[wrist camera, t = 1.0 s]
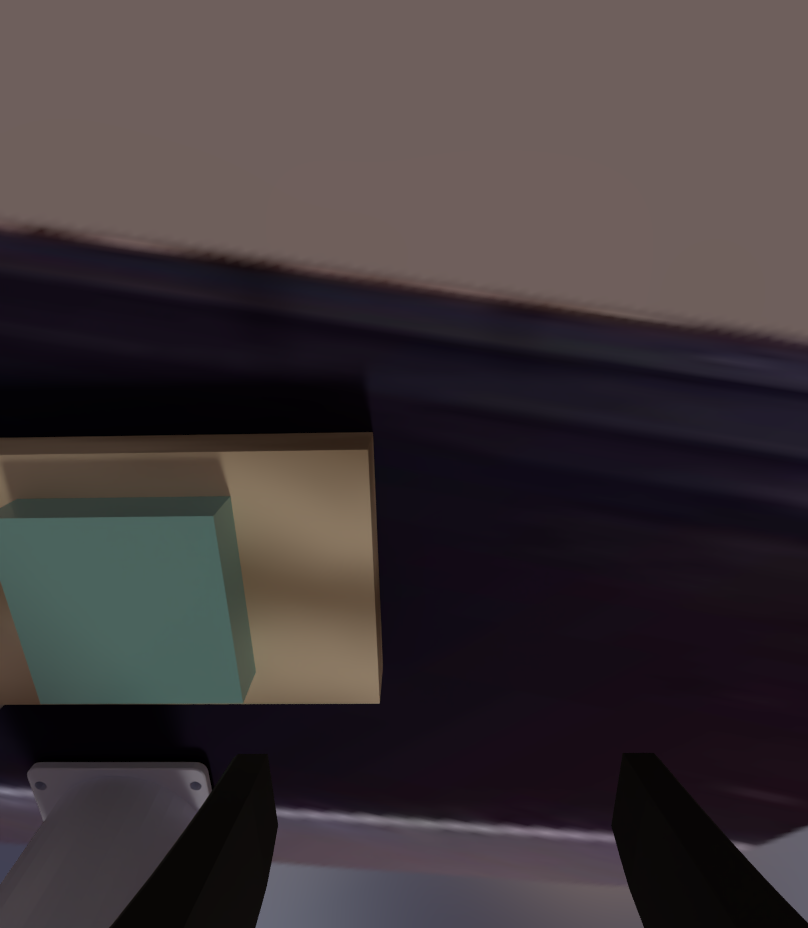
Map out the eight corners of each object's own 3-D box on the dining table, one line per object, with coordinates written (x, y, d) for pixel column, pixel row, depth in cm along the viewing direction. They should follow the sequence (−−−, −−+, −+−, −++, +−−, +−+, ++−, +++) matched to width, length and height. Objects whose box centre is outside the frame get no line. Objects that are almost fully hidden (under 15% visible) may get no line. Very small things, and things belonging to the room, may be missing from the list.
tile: (256, 671, 19) (243, 703, 17) (68, 672, 19) (40, 704, 17) (230, 496, 16) (213, 515, 15) (16, 498, 17) (-21, 518, 15)
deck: (382, 665, 21) (379, 703, 19) (2, 667, 21) (-38, 704, 19) (372, 432, 18) (367, 449, 16) (-78, 439, 18) (-135, 457, 16)
